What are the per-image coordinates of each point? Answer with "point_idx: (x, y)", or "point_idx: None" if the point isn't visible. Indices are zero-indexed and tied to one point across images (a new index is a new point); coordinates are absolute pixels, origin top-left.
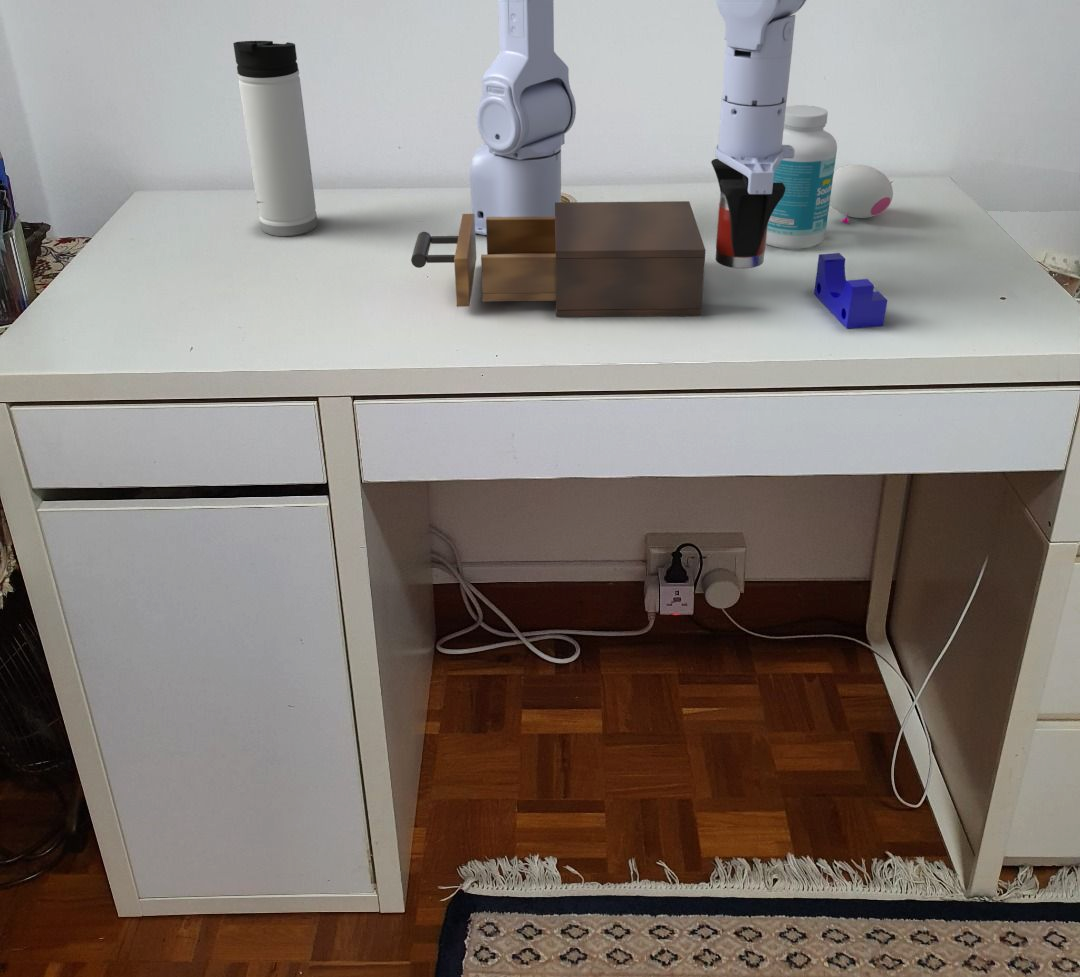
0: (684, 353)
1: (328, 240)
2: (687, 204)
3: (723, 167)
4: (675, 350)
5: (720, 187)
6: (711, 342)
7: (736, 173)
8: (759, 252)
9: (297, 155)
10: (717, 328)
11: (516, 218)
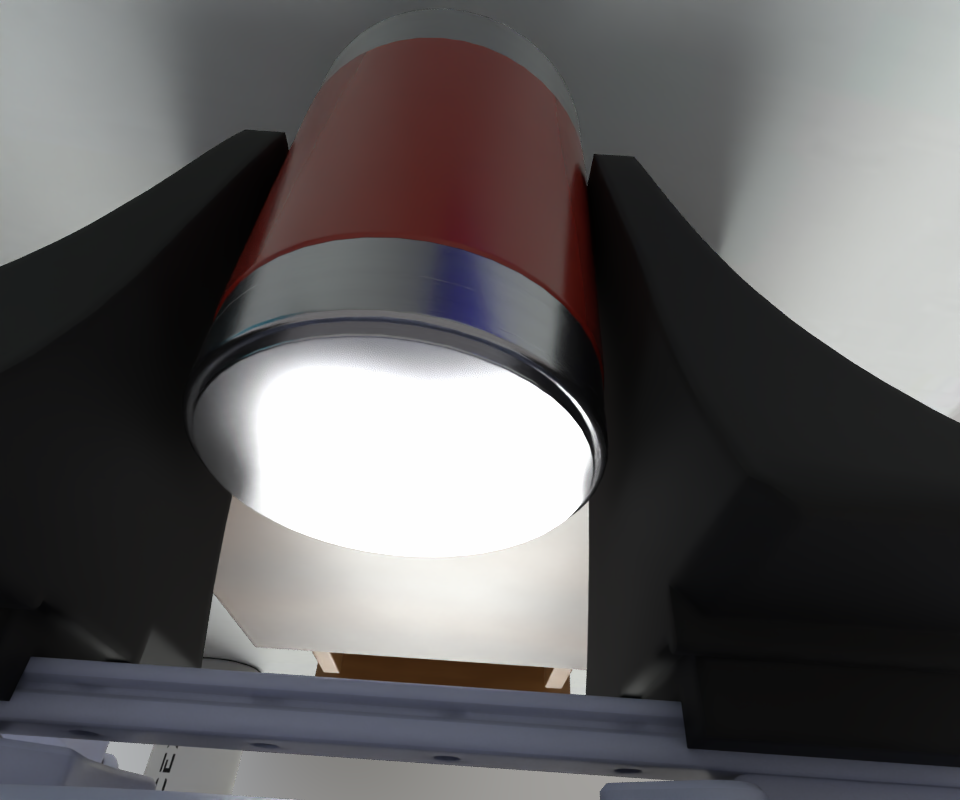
0: (956, 349)
1: (260, 653)
2: None
3: (168, 656)
4: (920, 364)
5: (225, 516)
6: (938, 273)
7: (156, 568)
8: (563, 115)
9: (202, 792)
10: (841, 236)
11: (326, 654)
